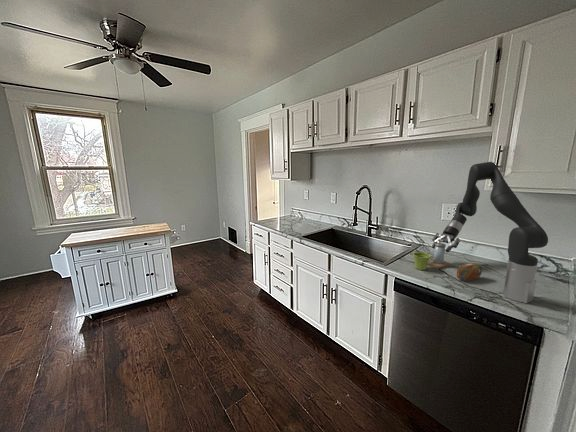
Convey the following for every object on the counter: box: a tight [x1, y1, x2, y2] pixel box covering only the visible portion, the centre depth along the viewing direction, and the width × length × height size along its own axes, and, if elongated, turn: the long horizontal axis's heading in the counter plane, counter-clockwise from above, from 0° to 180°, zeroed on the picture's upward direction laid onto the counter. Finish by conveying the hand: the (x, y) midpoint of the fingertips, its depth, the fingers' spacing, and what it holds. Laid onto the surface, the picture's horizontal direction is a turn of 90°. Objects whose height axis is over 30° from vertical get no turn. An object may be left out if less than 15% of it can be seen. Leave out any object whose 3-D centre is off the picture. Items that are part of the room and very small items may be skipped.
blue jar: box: [433, 242, 447, 264], centre depth 148 cm, size 6×6×12 cm
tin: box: [456, 262, 483, 282], centre depth 129 cm, size 15×3×8 cm, turn 105°
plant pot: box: [412, 251, 432, 271], centre depth 144 cm, size 9×9×9 cm
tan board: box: [427, 258, 453, 270], centre depth 149 cm, size 10×12×1 cm
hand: (439, 249), depth 148 cm, fingers open, 8 cm apart
